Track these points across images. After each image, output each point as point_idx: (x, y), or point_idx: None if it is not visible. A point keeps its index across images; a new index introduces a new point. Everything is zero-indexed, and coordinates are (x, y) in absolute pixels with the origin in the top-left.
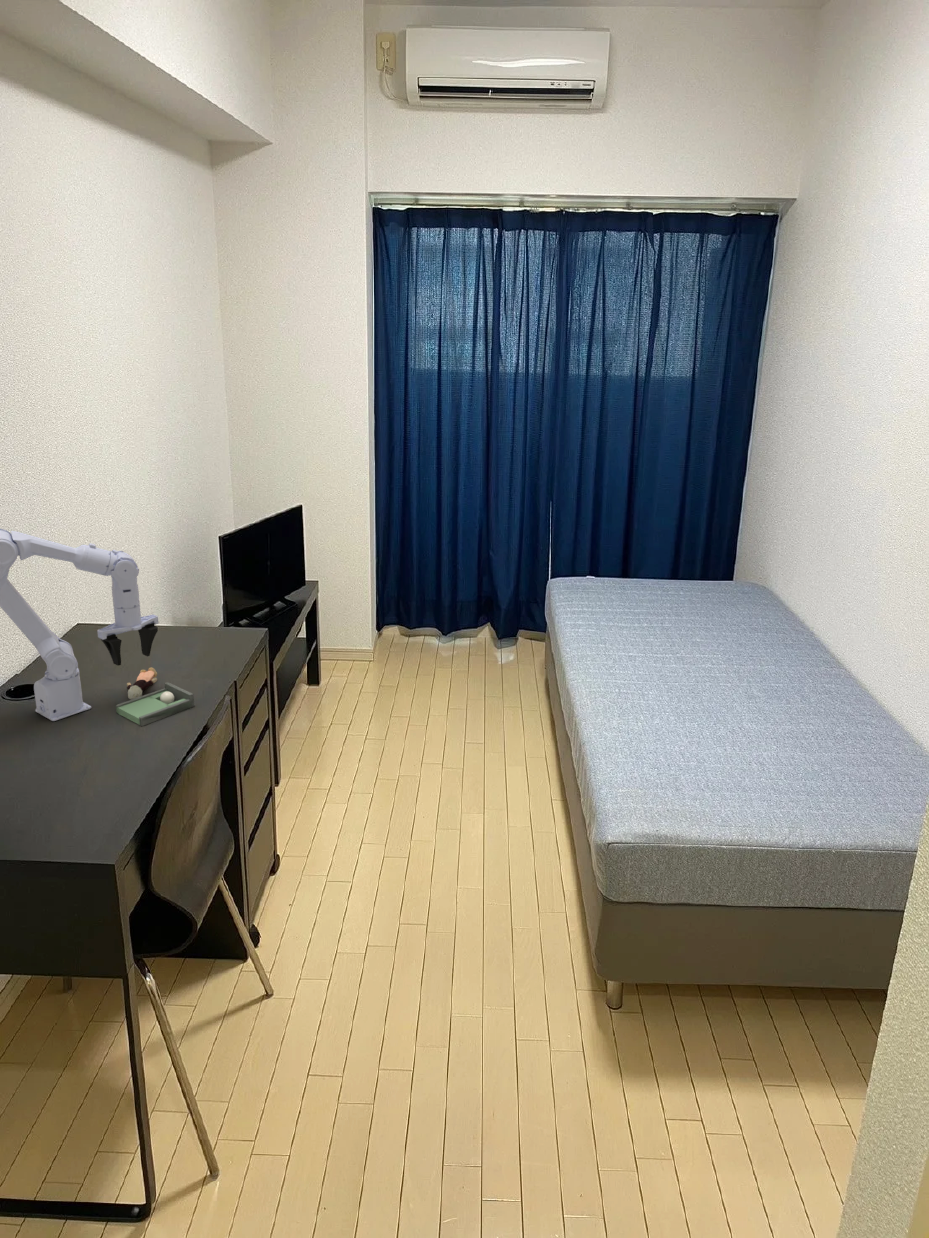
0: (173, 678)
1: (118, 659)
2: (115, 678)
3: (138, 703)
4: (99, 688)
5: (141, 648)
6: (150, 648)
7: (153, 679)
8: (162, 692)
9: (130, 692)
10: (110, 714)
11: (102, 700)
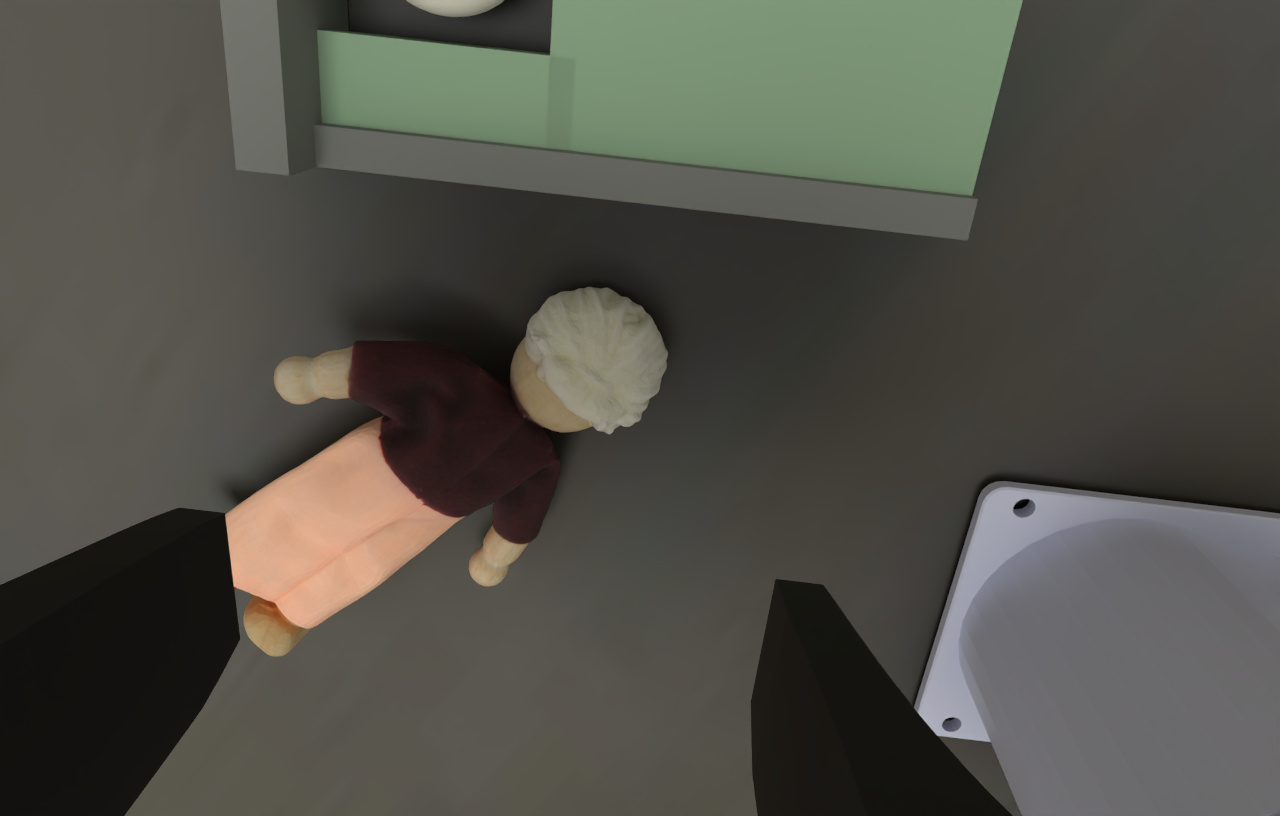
0: (87, 412)
1: (859, 650)
2: (452, 753)
3: (762, 94)
4: (651, 714)
5: (181, 734)
6: (54, 567)
7: (319, 376)
8: (390, 119)
9: (646, 369)
10: (993, 245)
11: (800, 536)
